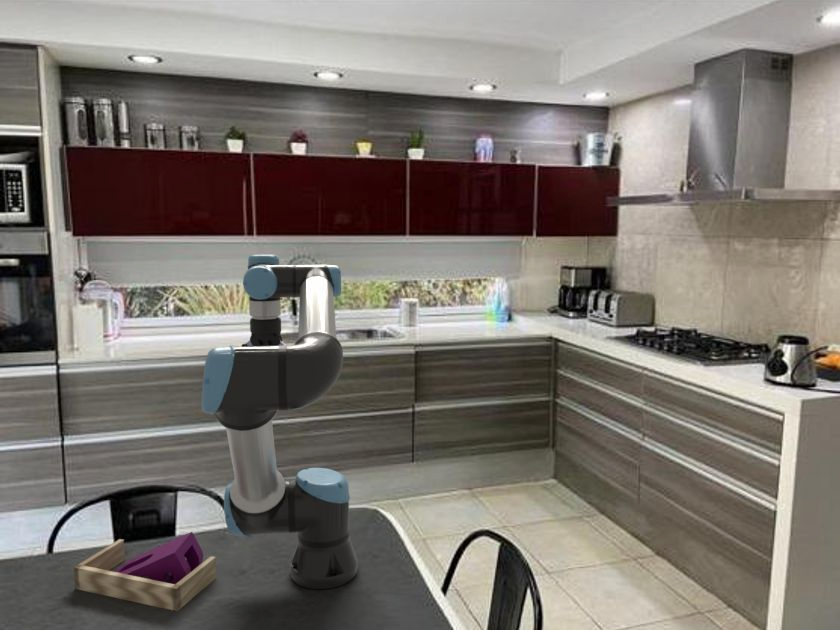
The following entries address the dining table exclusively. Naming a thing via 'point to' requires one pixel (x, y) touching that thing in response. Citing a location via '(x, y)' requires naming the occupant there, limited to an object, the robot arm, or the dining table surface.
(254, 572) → the dining table surface
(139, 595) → the birch bay
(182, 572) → the mounting bracket
